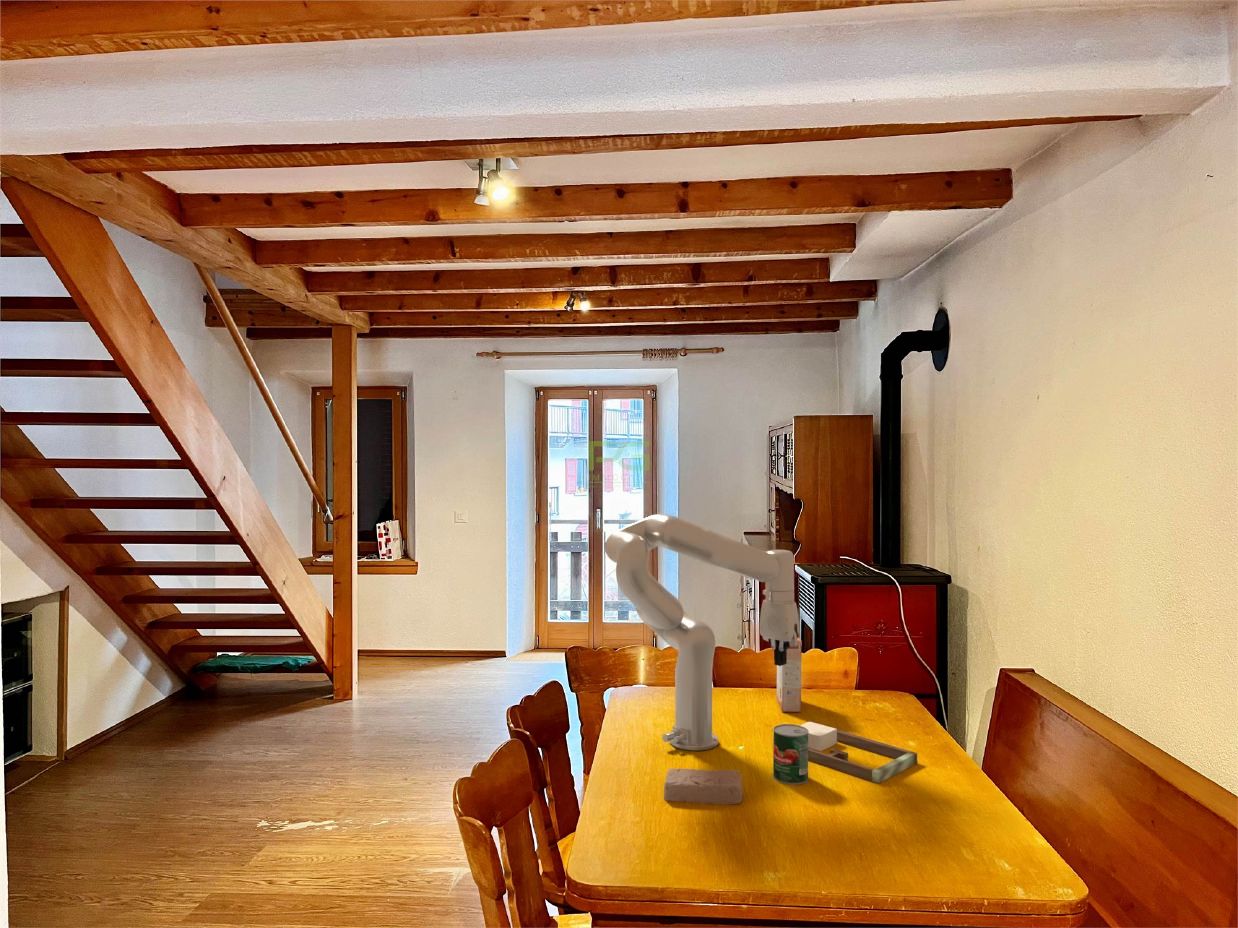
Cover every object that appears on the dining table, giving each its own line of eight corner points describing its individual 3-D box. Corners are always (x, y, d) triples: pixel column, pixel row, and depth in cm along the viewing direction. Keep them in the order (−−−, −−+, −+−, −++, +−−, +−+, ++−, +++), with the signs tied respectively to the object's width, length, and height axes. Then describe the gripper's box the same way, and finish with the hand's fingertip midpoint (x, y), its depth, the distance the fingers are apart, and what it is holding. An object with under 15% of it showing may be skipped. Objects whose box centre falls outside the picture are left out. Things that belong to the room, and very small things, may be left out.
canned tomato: (770, 781, 172) (770, 733, 172) (775, 768, 179) (775, 722, 179) (806, 787, 169) (806, 737, 169) (810, 773, 176) (810, 726, 176)
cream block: (820, 752, 190) (820, 736, 190) (792, 744, 196) (792, 728, 196) (836, 744, 196) (836, 728, 196) (809, 736, 202) (809, 721, 202)
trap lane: (878, 783, 171) (878, 772, 171) (776, 749, 192) (775, 739, 192) (917, 762, 183) (917, 752, 183) (816, 732, 204) (816, 723, 204)
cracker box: (802, 713, 220) (802, 640, 220) (781, 712, 220) (781, 640, 221) (796, 698, 234) (796, 630, 234) (776, 698, 234) (776, 630, 235)
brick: (663, 802, 162) (663, 780, 162) (666, 786, 170) (666, 764, 170) (742, 807, 159) (742, 785, 160) (741, 790, 168) (741, 769, 168)
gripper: (748, 594, 207) (749, 661, 207) (794, 601, 196) (795, 672, 196) (765, 591, 212) (766, 657, 212) (811, 597, 201) (812, 667, 201)
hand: (780, 664), depth 204 cm, fingers closed
